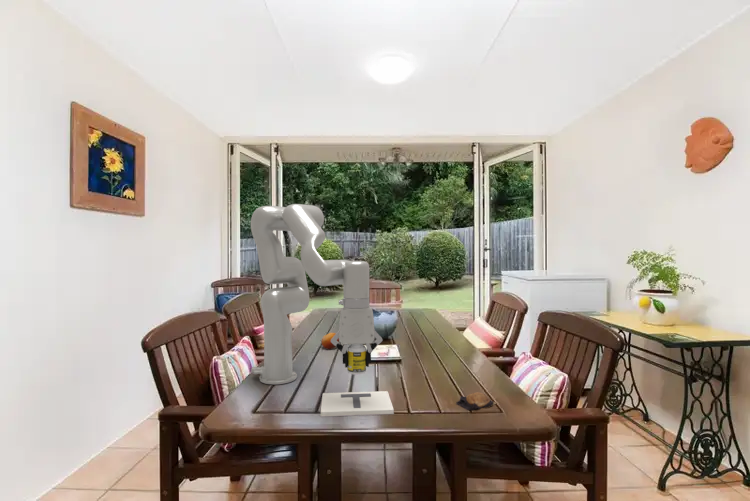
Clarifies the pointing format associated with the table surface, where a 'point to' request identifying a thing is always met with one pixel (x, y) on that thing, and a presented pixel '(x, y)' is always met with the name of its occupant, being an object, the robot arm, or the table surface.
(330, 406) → the board
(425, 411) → the table surface
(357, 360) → the supplement bottle
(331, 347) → the fruit
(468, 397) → the cookie on black wrapper
